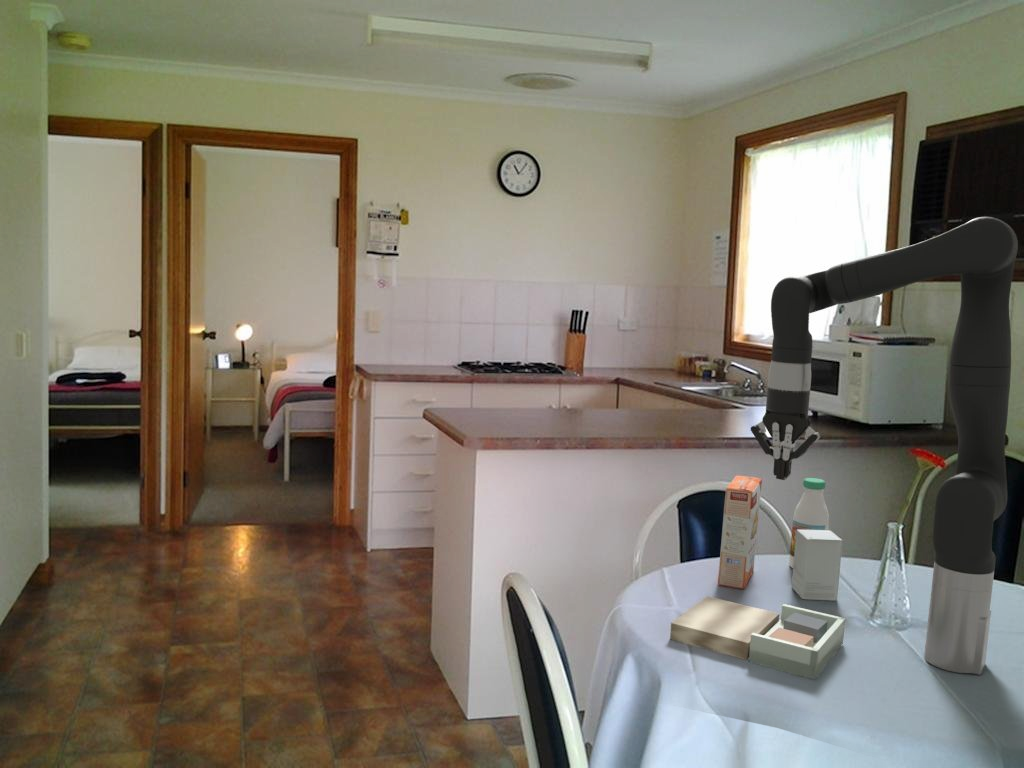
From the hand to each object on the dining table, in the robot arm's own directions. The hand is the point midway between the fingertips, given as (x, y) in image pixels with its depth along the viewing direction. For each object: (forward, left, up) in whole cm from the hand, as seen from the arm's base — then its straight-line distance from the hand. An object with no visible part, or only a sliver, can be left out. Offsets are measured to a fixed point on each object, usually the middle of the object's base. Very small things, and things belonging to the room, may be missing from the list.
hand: (781, 478), depth 177 cm
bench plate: (+4, +13, -27) cm, 30 cm away
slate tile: (-9, +10, -25) cm, 28 cm away
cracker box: (+13, -18, -27) cm, 35 cm away
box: (-9, +13, -27) cm, 31 cm away
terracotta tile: (-9, +18, -25) cm, 32 cm away
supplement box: (-3, -19, -27) cm, 33 cm away
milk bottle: (+3, -35, -27) cm, 44 cm away
